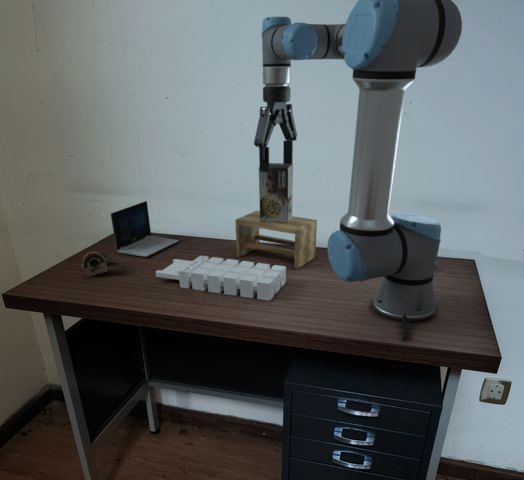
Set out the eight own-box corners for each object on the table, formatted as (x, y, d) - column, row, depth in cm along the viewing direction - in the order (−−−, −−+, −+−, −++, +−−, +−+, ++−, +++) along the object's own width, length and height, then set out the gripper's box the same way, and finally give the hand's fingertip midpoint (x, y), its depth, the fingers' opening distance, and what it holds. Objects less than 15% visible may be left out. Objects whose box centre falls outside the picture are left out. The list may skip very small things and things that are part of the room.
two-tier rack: (297, 269, 150) (298, 230, 144) (236, 256, 160) (235, 219, 154) (315, 257, 158) (317, 220, 152) (256, 246, 169) (255, 210, 163)
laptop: (146, 258, 159) (141, 217, 152) (116, 252, 164) (109, 213, 157) (179, 242, 173) (175, 204, 166) (150, 237, 178) (146, 200, 171)
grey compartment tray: (269, 283, 128) (152, 267, 139) (269, 300, 130) (154, 283, 141) (285, 266, 138) (175, 252, 150) (285, 282, 141) (177, 267, 152)
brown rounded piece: (67, 259, 143) (96, 254, 140) (89, 241, 153) (117, 236, 150) (78, 281, 147) (106, 277, 144) (99, 262, 157) (126, 258, 154)
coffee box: (292, 217, 155) (293, 163, 146) (288, 223, 149) (288, 167, 141) (264, 215, 157) (264, 162, 149) (258, 221, 151) (258, 166, 143)
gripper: (286, 83, 145) (286, 160, 156) (239, 87, 127) (242, 173, 138) (309, 83, 142) (307, 162, 153) (264, 87, 124) (265, 176, 134)
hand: (276, 167), depth 145 cm, fingers open, 13 cm apart
